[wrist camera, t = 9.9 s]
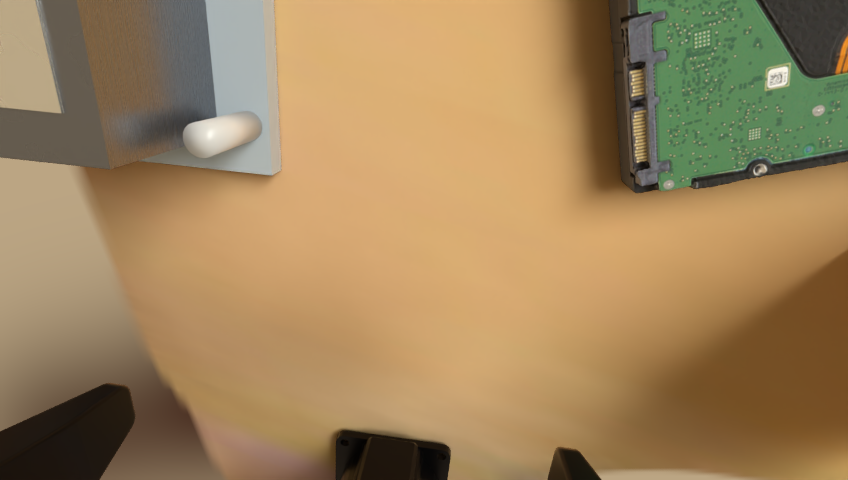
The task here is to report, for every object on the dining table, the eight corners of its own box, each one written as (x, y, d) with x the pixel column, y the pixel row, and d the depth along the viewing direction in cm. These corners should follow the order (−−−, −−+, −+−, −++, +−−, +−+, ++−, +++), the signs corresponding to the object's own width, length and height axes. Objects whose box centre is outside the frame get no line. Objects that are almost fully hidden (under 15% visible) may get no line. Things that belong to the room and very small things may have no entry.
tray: (281, 169, 20) (230, 199, 16) (91, 149, 20) (-7, 173, 16) (266, -174, 15) (188, -262, 11) (19, -189, 16) (-143, -278, 12)
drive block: (218, 135, 18) (107, 170, 13) (116, 125, 19) (-37, 154, 13) (192, -134, 15) (23, -248, 9) (66, -142, 15) (-172, -259, 10)
